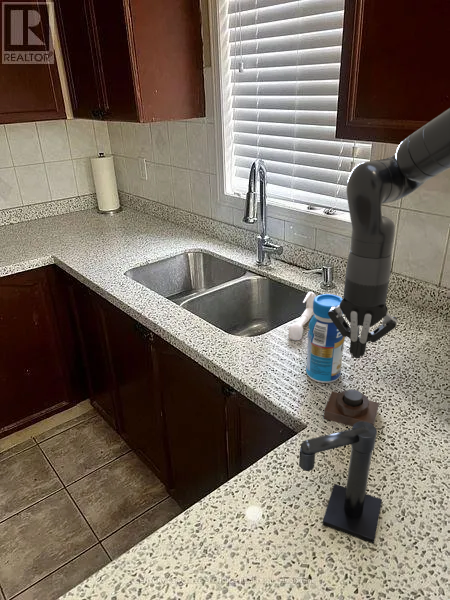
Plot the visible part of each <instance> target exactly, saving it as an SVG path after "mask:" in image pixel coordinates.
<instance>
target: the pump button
mask: <svg viewBox="0 0 450 600" xmlns="http://www.w3.org/2000/svg"><path fill="white" fill-rule="evenodd" d="M344 391H345V390H344ZM360 392H361V391H359V390H357V389H354V388H353V389H351V388H350V389H347V391H345V393H344V403H345V404H347V405H349V406H353V407H357V406H360V405H361V403H362V394H363V393H362V392H361V393H362V394H361V393H360Z"/></svg>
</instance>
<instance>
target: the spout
mask: <svg viewBox="0 0 450 600" xmlns="http://www.w3.org/2000/svg"><path fill="white" fill-rule="evenodd" d="M377 435H378V430H377V428H376V426H375V425H374V426H373V425H372V424H370V423H368V422H363V421H361V422H357V423H355V424H354V425H353V427H352V428H351V429H346V430H342V431H337V432H333V433H330V434H329V433H328V434H326V435H321V436H317V437H314V438H309V439H305V440H303V441H302V442H301V445H300V448H299V458H298V459H299V460H298V466H299V468H300V469H301V470H303V471H305V472H308V471H309V472H310V471H312V470H314V468H315V463H316V454H318V453H322V452H326V451H330V450H335V449H337V448H342V447H345V446H350V445H351V447H353V448H354V449H355V450H356V451H358V452H361V453H369V452H371V451H372V452H373V451H374V450H375V445H376V439H377Z"/></svg>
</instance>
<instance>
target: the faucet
mask: <svg viewBox="0 0 450 600" xmlns="http://www.w3.org/2000/svg"><path fill="white" fill-rule="evenodd" d="M316 296H317V294H315V292H313V291H308V292H307V293H306V295H305V297H304V299H303V301H302V303H303V304H305V303H306V304H305V306H306V307H305V310H304V311H303V312H302V314H301V315H300V317H299V319H298V321H297V322H293V323H291V324H290V325H289V326H288V338H289V339H290V340H292V341H300V340H302V338H303V333H304V326H305V324H306V323H309V322H310V320H311V318H312V317H313V316H314V313H313V301H314V298H315V297H316Z"/></svg>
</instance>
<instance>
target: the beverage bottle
mask: <svg viewBox="0 0 450 600" xmlns="http://www.w3.org/2000/svg"><path fill="white" fill-rule="evenodd" d="M342 299H343V297H341V296H339V295H336V294H332V293H331V294H330V293H322V294H319V295H316V297H315V298H314V301H313V313H314V315H313V316H311V318H310V319H309V321H308V329H309V330H308V331H307V336H306V337H307V351H306V368H305V372H306V375H307V376H308V377H309V379H311V380H312V381H315V382H317V383H322V384H330V383H333V382H336V381H338V379H340V377H341V375H342V364H343V363H342V361H343V353H344V344H345V341H346V337H343V336H342V335H341V333H340V332H339V330H338V329H337V327H336V326H335V324H334V323H333V321H332V320H331V319H330V317H329V316H328V312H329V310H330V308H331V307H332V306H335V307H336V306H338V305H340V303H341V301H342ZM343 315H344V313H343V312H342V316H343Z"/></svg>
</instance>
